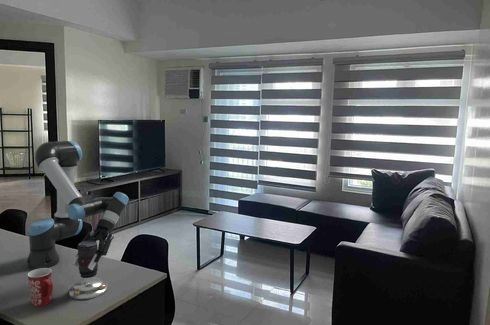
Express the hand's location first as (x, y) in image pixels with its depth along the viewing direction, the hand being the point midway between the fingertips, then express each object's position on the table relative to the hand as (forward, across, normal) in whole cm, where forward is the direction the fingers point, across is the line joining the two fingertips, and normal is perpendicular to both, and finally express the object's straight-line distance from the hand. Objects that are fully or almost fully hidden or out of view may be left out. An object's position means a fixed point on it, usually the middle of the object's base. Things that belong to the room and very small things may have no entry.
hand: (82, 267), depth 159 cm
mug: (+18, +9, 0) cm, 20 cm away
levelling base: (+7, 0, -11) cm, 13 cm away
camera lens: (+1, 0, -6) cm, 6 cm away
